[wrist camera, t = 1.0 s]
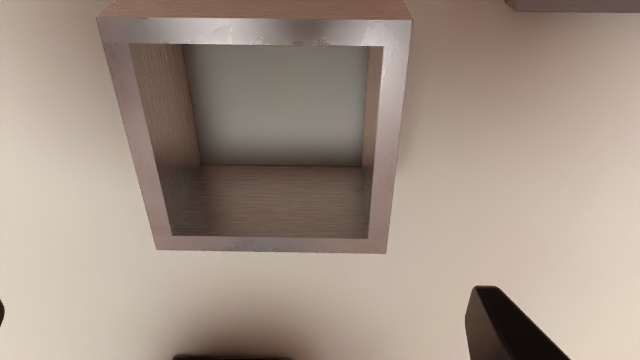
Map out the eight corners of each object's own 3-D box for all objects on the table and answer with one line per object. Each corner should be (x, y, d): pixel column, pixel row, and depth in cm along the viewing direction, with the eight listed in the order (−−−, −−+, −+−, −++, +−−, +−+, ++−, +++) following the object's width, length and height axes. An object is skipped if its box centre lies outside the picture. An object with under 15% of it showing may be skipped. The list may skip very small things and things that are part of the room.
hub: (376, 180, 18) (385, 253, 15) (187, 177, 18) (156, 249, 15) (393, -20, 14) (412, 20, 11) (150, -23, 14) (95, 17, 11)
